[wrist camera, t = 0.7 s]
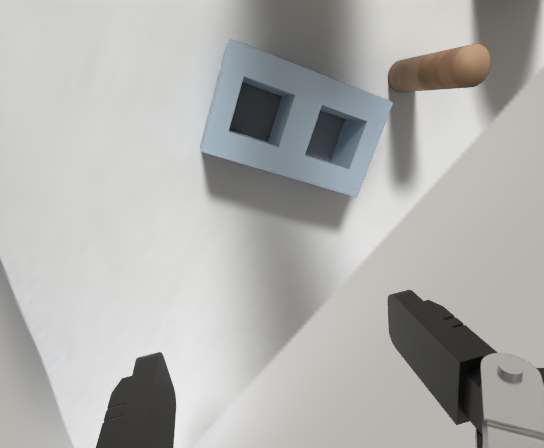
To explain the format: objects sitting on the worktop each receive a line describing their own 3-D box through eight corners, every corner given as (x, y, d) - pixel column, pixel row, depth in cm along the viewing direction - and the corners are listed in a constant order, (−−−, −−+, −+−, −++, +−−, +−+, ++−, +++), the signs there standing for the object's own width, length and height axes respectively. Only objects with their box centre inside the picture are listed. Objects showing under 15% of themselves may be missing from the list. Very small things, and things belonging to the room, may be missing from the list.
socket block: (225, 48, 32) (230, 38, 27) (368, 102, 36) (393, 102, 32) (200, 145, 34) (200, 151, 30) (337, 186, 38) (356, 197, 34)
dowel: (395, 55, 35) (466, 37, 26) (419, 66, 36) (497, 52, 27) (383, 86, 36) (448, 79, 27) (408, 96, 37) (479, 92, 28)
